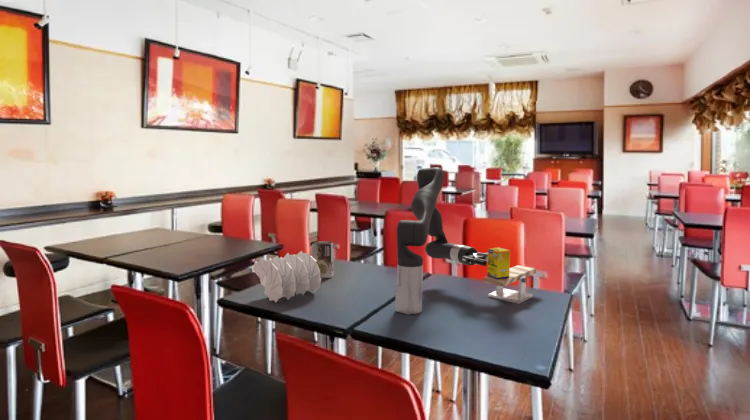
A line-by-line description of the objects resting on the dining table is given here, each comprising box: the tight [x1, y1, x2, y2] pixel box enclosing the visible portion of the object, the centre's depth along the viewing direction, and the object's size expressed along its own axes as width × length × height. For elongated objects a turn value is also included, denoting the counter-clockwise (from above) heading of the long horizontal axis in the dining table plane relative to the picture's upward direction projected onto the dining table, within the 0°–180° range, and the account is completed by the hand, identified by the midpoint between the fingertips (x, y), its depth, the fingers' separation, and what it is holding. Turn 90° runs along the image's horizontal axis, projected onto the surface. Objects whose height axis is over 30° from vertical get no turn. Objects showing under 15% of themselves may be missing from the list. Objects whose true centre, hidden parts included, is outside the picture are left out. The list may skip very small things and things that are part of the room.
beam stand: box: [488, 276, 533, 305], centre depth 187 cm, size 12×13×9 cm
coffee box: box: [311, 240, 335, 279], centre depth 218 cm, size 9×6×16 cm
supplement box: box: [486, 247, 511, 280], centre depth 178 cm, size 6×6×11 cm
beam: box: [483, 265, 537, 288], centre depth 187 cm, size 28×8×2 cm, turn 137°
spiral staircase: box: [252, 250, 322, 303], centre depth 186 cm, size 18×18×25 cm
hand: (493, 262), depth 181 cm, fingers open, 8 cm apart
